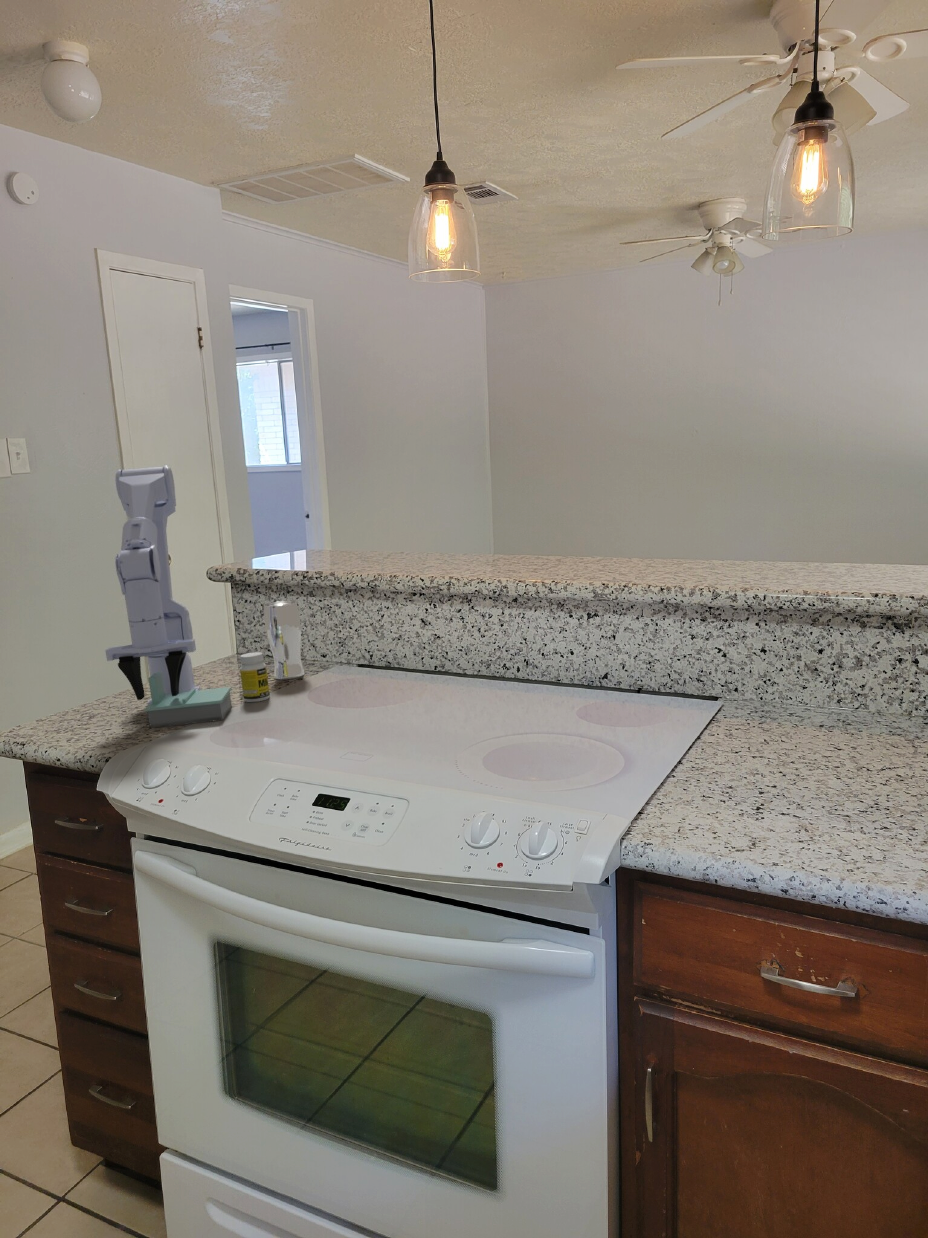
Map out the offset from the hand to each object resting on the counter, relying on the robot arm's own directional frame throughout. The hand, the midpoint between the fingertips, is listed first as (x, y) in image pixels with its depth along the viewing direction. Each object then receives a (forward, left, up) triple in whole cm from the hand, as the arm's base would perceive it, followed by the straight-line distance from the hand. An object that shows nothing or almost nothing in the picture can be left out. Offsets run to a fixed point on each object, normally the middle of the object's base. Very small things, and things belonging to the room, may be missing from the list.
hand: (158, 696), depth 152 cm
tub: (0, +5, -4) cm, 7 cm away
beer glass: (-25, +19, -4) cm, 32 cm away
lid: (0, +5, -1) cm, 5 cm away
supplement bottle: (-8, +15, -4) cm, 18 cm away
